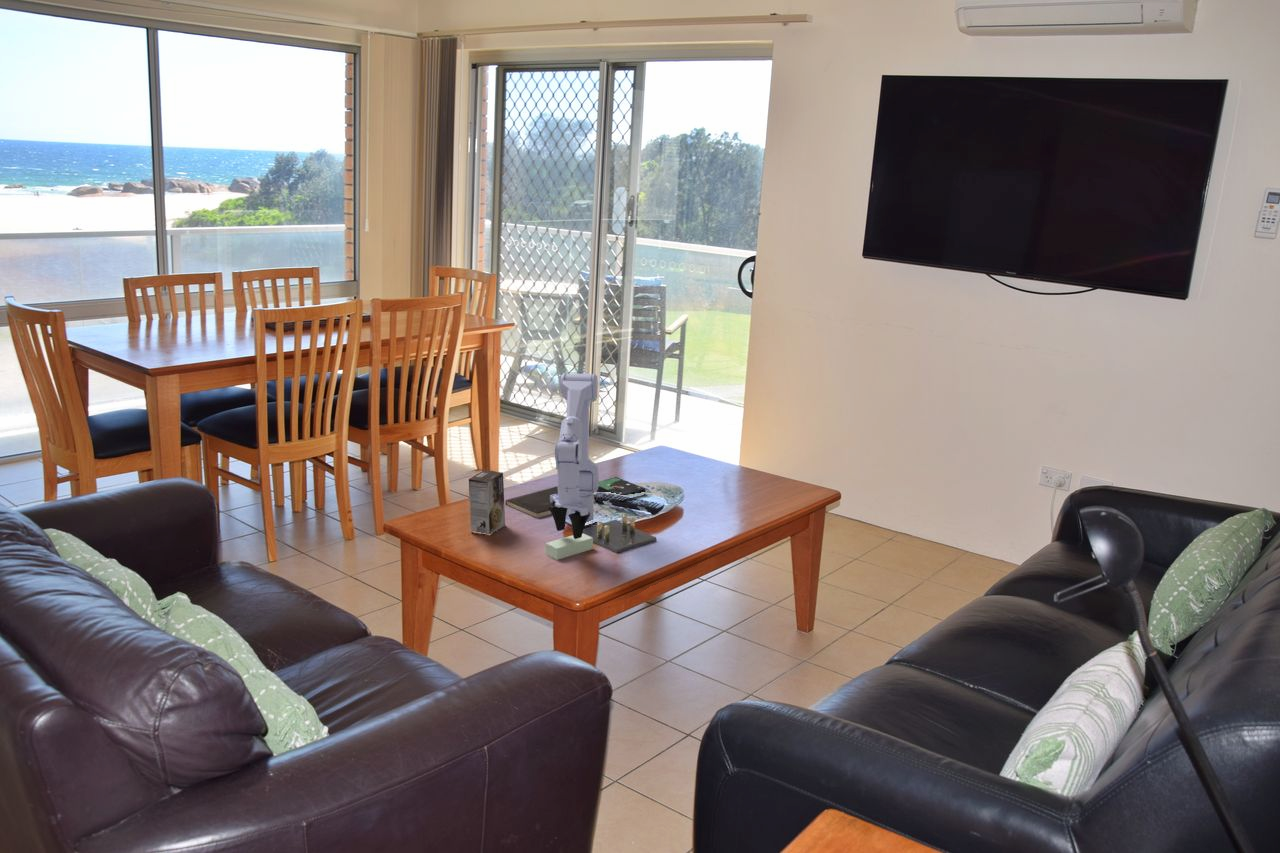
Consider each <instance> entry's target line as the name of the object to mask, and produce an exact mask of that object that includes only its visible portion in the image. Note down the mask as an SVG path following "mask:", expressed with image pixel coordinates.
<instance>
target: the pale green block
mask: <svg viewBox="0 0 1280 853" xmlns="http://www.w3.org/2000/svg"><path fill="white" fill-rule="evenodd" d="M593 549H594V542H593V538H592V537H590V536H588V535H586V534H583V533H582V537H581V538H578V539H574V537H573V534H572V535H569V536H566V537H561V538H559V539H555V540H552V541H549V542H546V543H545V555H547V556H548V557H550V558H552V559H554V560H557V561H558V560H561V559H565V558H568V557H572V556H574V555H578V554H581V553H584V552H588V551H590V550H593Z"/></svg>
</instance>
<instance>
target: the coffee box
mask: <svg viewBox="0 0 1280 853" xmlns="http://www.w3.org/2000/svg"><path fill="white" fill-rule="evenodd" d="M468 491H469V492H468V494H469V496H468V497H469V513H470V514H469V515H470V532H471V531H476V532H481V533H486V534H491V533H493V532H495V531H496V532H498V531H499V530H500V529H501V528H503V527H505V526H506V517H505V516H506V514H505V492H504V491H505V489H504V472H500V471H495V470H488V469H483V470H481V471H480V472H478V473H476V474H474V475H473V476H471V477H469V478H468ZM498 529H499V530H498ZM496 532H495V533H496ZM493 534H494V533H493Z"/></svg>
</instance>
